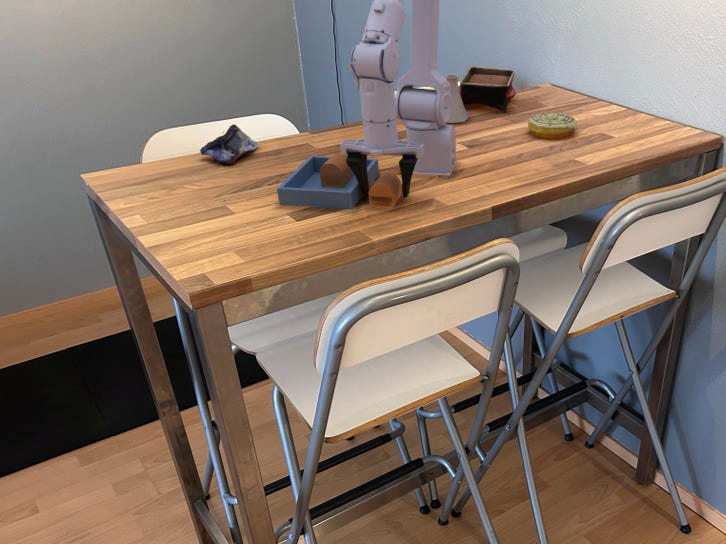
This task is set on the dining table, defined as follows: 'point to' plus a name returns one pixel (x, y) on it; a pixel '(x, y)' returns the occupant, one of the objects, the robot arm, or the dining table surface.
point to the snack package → (229, 146)
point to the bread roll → (385, 190)
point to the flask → (456, 100)
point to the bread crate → (308, 190)
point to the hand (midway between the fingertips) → (385, 194)
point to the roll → (335, 172)
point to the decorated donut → (552, 125)
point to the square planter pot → (487, 87)
